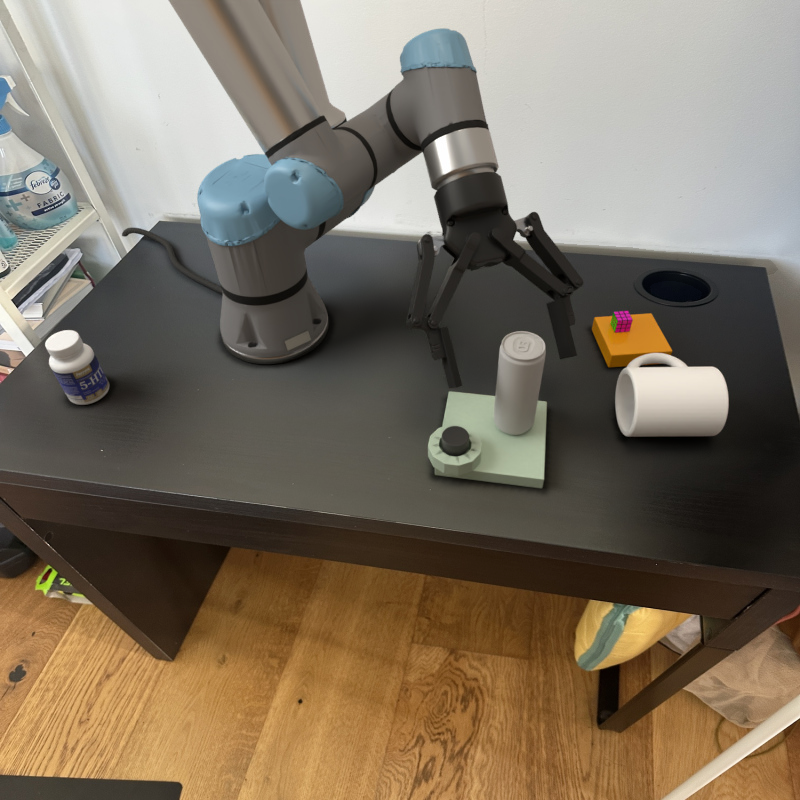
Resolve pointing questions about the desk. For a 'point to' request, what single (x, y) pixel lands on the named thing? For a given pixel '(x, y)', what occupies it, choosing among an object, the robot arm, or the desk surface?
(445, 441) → the tare button
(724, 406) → the mug
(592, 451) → the desk surface
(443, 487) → the desk surface
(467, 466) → the scale
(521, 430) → the beverage can
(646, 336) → the orange square tile
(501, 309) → the desk surface
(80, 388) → the pill bottle
